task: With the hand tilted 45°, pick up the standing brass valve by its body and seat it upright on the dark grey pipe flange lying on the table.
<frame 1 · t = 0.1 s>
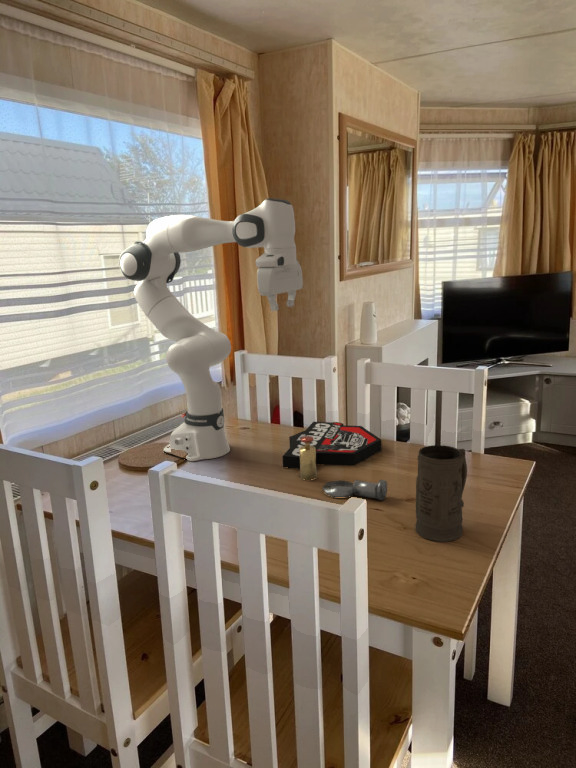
hand: (282, 308, 164), 48 cm above the table, tool pointing down, fingers open, 8 cm apart
decorative sign: (334, 451, 187), on the table
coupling: (339, 491, 156), on the table
valve: (308, 477, 166), on the table
beer stein: (443, 527, 136), on the table
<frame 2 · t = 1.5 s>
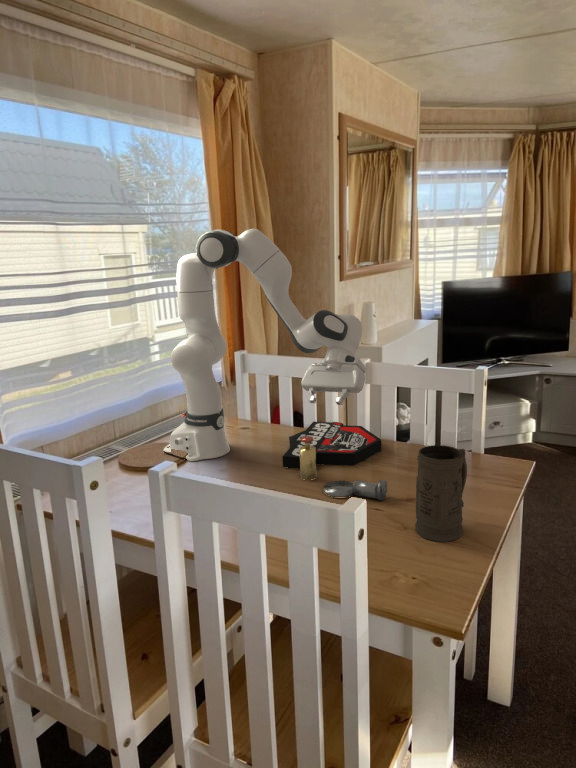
hand: (325, 403, 170), 19 cm above the table, tool tilted 45°, fingers open, 8 cm apart
nothing on the table moved.
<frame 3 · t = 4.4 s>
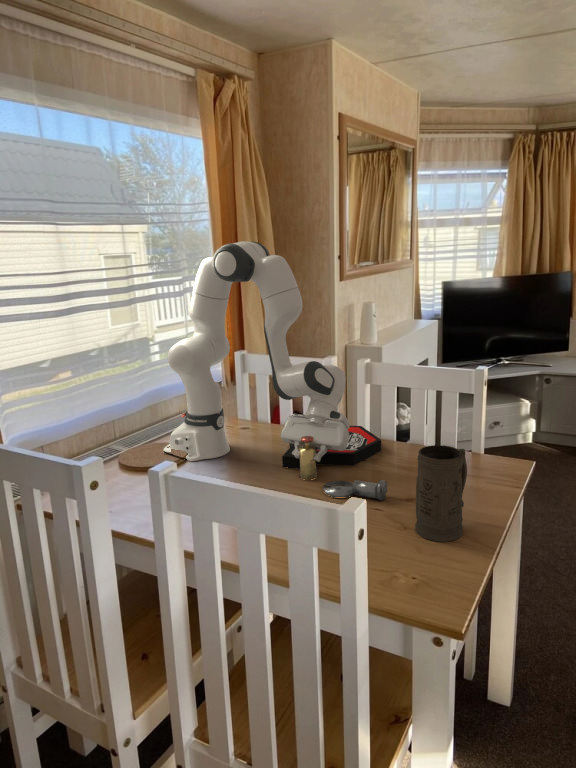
hand: (306, 459, 164), 6 cm above the table, tool tilted 45°, fingers closed on valve, 5 cm apart
valve: (308, 477, 166), on the table, touching gripper
everything else where it was.
when the fingers open (8 cm above the table, at t = 8.9 s): valve stays where it is, resting on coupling.
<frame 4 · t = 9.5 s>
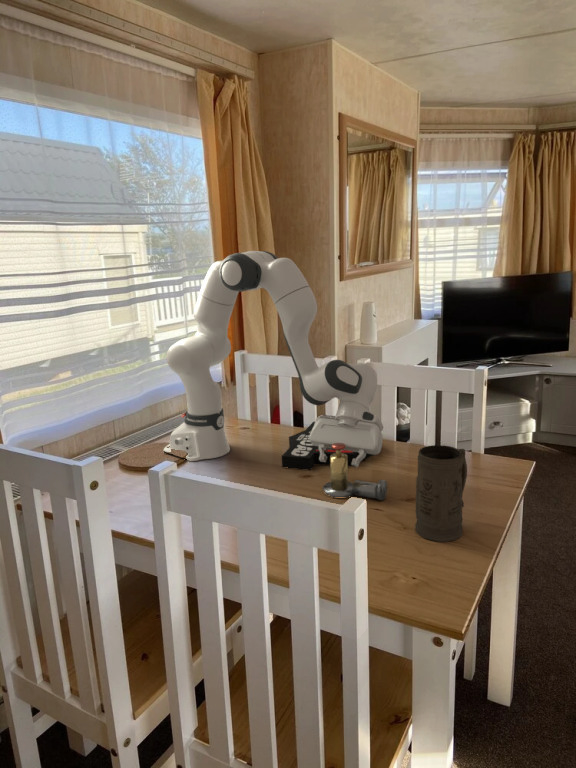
hand: (338, 463, 154), 8 cm above the table, tool tilted 45°, fingers open, 8 cm apart
valve: (339, 487, 156), point 1 cm above the table, touching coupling
everything else where it was.
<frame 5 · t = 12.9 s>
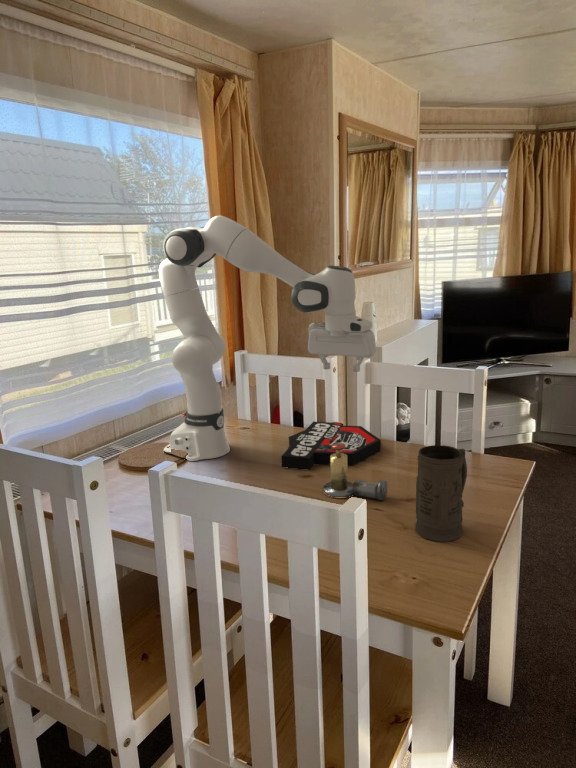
hand: (341, 370, 169), 29 cm above the table, tool pointing down, fingers open, 8 cm apart
nothing on the table moved.
at the end: valve 0.1 cm off-centre on the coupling, point 1.2 cm above the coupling's base; valve tilted 0°; the gripper is holding nothing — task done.
